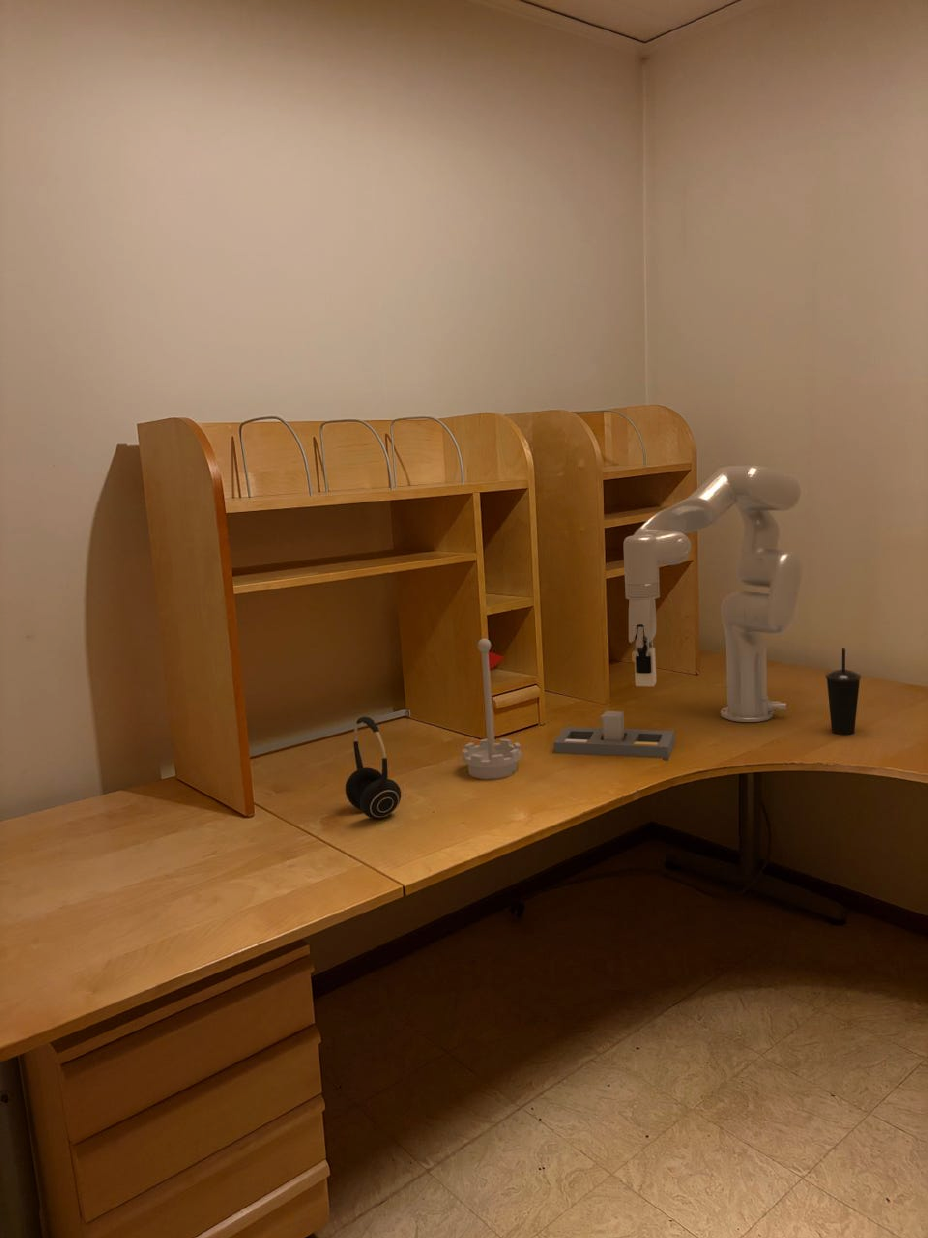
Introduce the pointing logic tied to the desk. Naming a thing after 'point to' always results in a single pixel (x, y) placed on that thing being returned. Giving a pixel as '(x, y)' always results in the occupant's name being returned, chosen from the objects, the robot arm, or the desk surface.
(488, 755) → the flag stand
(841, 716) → the drinking cup
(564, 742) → the grey slotted tray
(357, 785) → the headphones
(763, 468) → the robot arm
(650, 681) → the ivory plug
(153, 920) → the desk surface
